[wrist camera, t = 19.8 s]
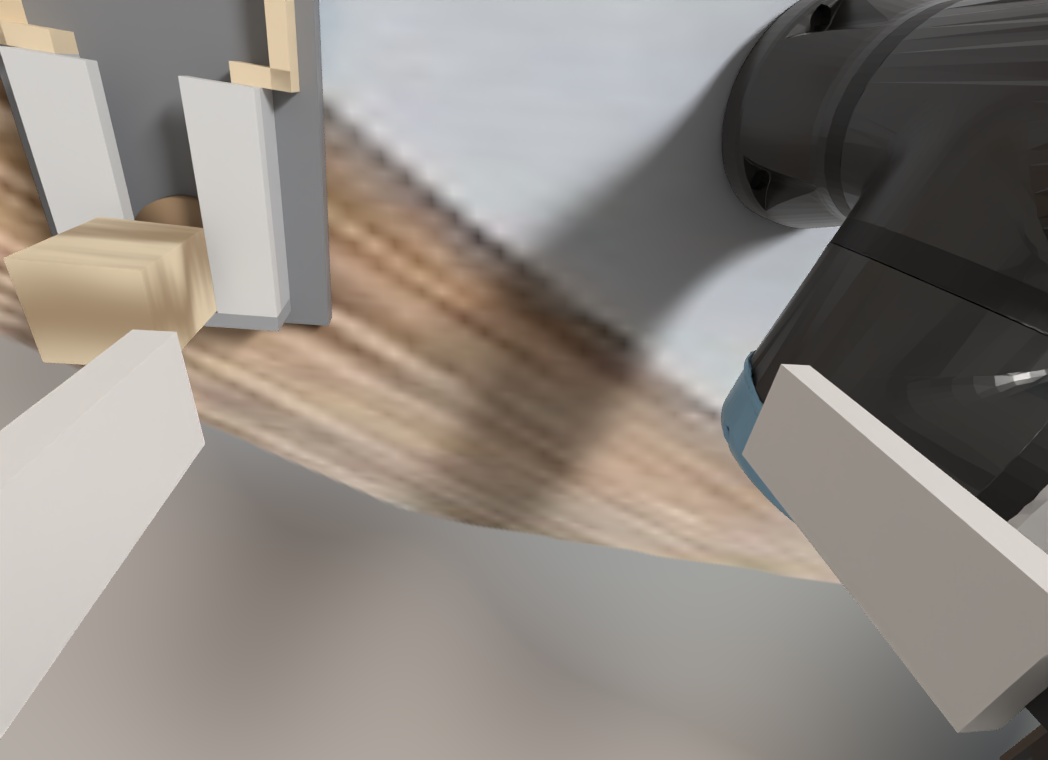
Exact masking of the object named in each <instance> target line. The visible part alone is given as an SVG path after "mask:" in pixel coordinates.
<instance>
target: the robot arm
mask: <svg viewBox="0 0 1048 760" xmlns="http://www.w3.org/2000/svg"><path fill="white" fill-rule="evenodd" d="M722 152H723V161H724V166H725V170H726V174H727V177H728V180H729V182H730V184H731V186H732V188H733V190H734V192H735V193H736V195H737V196H738V198H739V199H740V200H741V201H742V202H743V203H744V204H745V205H746V206H747V207H748V208H749V209H750V210H752V211H753V212H755V213H756V214H758V215H760V216H762V217H764V218H767V219H769V220H771V221H774V222H776V223H779V224H781V225H785V226H789V227H795V228H821V227H835V226H841V227H840V228H839V230H838V231H837V233H836V234H835V236H834V237H833V239H832V240H831V241H830V242H829V244H828V245H827V247H826V248H825V250H824V251H823V253H822V254H821V256H820V257H819V259H818V260H817V262H816V263H815V265H814V266H813V268H812V269H811V271H810V272H809V274H808V275H807V277H806V278H805V280H804V281H803V283H802V284H801V286H800V287H799V289H798V290H797V292H796V293H795V294H794V296H793V297H792V299H791V300H790V302H789V303H788V305H787V306H786V308H785V309H784V310H783V312H782V313H781V315H780V316H779V318H778V319H777V321H776V322H775V324H774V325H773V326H772V328H771V329H770V331H769V332H768V334H767V335H766V337H765V338H764V340H763V341H762V343H761V344H760V345H759V347H758V348H757V350H755V351H752V352H751V353H750V354H749V355H748V356H747V358H746V360H745V363H744V370H743V371H742V373H741V375H740V376H739V378H738V380H737V381H736V383H735V385H734V386H733V388H732V389H731V391H730V393H729V394H728V396H727V398H726V399H725V402H724V404H723V407H722V412H721V425H722V429H723V433H724V437H725V439H726V440H727V442H728V444H729V448H730V451H731V453H732V455H733V456H734V458H735V460H736V461H737V463H738V464H739V466H740V467H741V469H742V470H743V471H744V473H745V474H746V475H747V476H748V478H749V479H750V480H751V481H752V483H753V484H754V485H755V486H756V487H757V488H758V489H759V490H760V492H761V493H762V494H763V495H764V496H765V497H766V498H767V499H768V500H769V501H770V502H771V503H772V504H773V505H774V506H776V507H777V508H778V509H779V510H780V511H781V512H782V513H783V514H785V515H786V516H787V517H788V518H789V519H790V520H792V521H793V522H794V523H795V524H796V525H797V526H798V527H799V529H800V530H801V531H802V533H803V534H804V535H805V536H806V538H807V539H808V540H809V542H810V543H811V544H812V546H813V547H814V548H815V549H816V551H817V552H818V553H819V555H820V556H821V557H822V558H823V560H824V561H825V562H826V564H827V565H828V566H829V567H830V569H831V570H832V571H833V573H834V574H835V575H836V576H837V578H838V579H839V580H840V582H841V583H842V584H843V586H844V587H845V588H846V589H847V591H848V592H849V593H850V595H851V596H852V597H853V598H854V600H855V601H856V602H857V604H858V605H859V606H860V607H861V609H862V610H863V611H864V613H865V614H866V615H867V617H868V618H869V619H870V620H871V622H872V623H873V624H874V625H875V627H876V628H877V629H878V631H879V632H880V633H881V635H882V636H883V637H884V638H885V640H886V641H887V642H888V644H889V645H890V646H891V648H892V649H893V650H894V651H895V653H896V654H897V655H898V657H899V658H900V659H901V660H902V662H903V663H904V664H905V666H906V667H907V668H908V669H909V671H910V672H911V673H912V675H913V676H914V677H915V678H916V680H917V681H918V682H919V684H920V685H921V686H922V687H923V689H924V690H925V691H926V693H927V694H928V695H929V697H930V698H931V699H932V700H933V702H934V703H935V704H936V706H937V707H938V708H939V709H940V711H941V712H942V713H943V715H944V716H945V717H946V718H947V720H948V721H949V722H950V724H951V725H952V726H953V728H954V729H955V730H956V731H957V733H964V732H975V731H986V730H997V729H1000V728H1001V727H1002V726H1004V725H1005V724H1006V723H1007V722H1009V721H1010V720H1011V719H1012V718H1013V717H1015V716H1016V715H1017V714H1018V713H1019V712H1021V711H1022V710H1023V709H1024V708H1025V707H1026V708H1027V709H1028V710H1029V711H1030V713H1031V714H1033V716H1034V717H1035V718H1036V719H1037V720H1038V721H1039V722H1040V723H1041V725H1040V726H1039V727H1037V728H1036V729H1035V730H1034V731H1032V732H1031V733H1030V734H1029V735H1027V736H1026V737H1025V738H1024V739H1022V740H1021V741H1020V742H1018V743H1017V744H1016V745H1015V746H1013V747H1012V748H1011V749H1010V750H1008V751H1007V752H1006V753H1004V754H1003V755H1002V756H1001V757H1000V760H1048V0H800V1H799V2H798V3H796V4H795V5H793V6H792V7H791V8H790V9H788V10H787V11H786V12H785V13H784V14H783V15H781V16H780V17H779V18H778V19H777V20H776V21H775V22H774V23H773V24H772V25H771V26H770V28H769V29H768V30H767V31H766V32H765V33H764V34H763V36H762V37H761V38H760V40H759V41H758V42H757V44H756V45H755V47H754V48H753V49H752V51H751V52H750V54H749V56H748V57H747V59H746V61H745V63H744V64H743V66H742V68H741V70H740V72H739V74H738V76H737V79H736V81H735V83H734V86H733V88H732V91H731V94H730V97H729V100H728V104H727V108H726V112H725V117H724V123H723V132H722ZM204 445H205V441H204V437H203V433H202V430H201V426H200V421H199V418H198V414H197V410H196V406H195V402H194V398H193V394H192V390H191V386H190V382H189V379H188V375H187V371H186V367H185V363H184V359H183V355H182V351H181V347H180V343H179V340H178V336H177V332H172V331H153V330H134V329H133V330H131V331H130V332H129V333H127V334H126V335H125V336H124V337H122V338H121V339H120V340H118V341H117V342H116V343H114V344H113V345H112V346H110V347H109V348H108V349H106V350H105V351H104V352H103V353H101V354H100V355H99V356H97V357H96V358H95V359H93V360H92V361H91V362H89V363H88V364H87V365H85V366H84V367H83V368H82V369H80V370H79V371H78V372H76V373H75V374H74V375H72V376H71V377H70V378H68V379H67V380H66V381H65V382H64V383H62V384H61V385H59V386H58V387H57V388H55V389H54V390H53V391H51V392H50V393H49V394H47V395H46V396H45V397H44V398H42V399H41V400H40V401H38V402H37V403H36V404H34V405H33V406H32V407H30V408H29V409H28V410H27V411H25V412H24V413H23V414H21V415H20V416H19V417H17V418H16V419H15V420H13V421H12V422H11V423H10V424H8V425H7V426H5V427H4V428H3V429H2V430H0V739H1V737H2V736H3V735H4V733H5V731H6V730H7V729H8V727H9V726H10V724H11V723H12V722H13V720H14V719H15V717H16V716H17V714H18V713H19V711H20V710H21V709H22V707H23V706H24V704H25V703H26V701H27V700H28V699H29V697H30V696H31V694H32V693H33V691H34V690H35V688H36V687H37V685H38V684H39V683H40V681H41V680H42V678H43V677H44V675H45V674H46V673H47V671H48V670H49V668H50V667H51V665H52V664H53V662H54V661H55V659H56V658H57V656H58V655H59V654H60V652H61V651H62V649H63V648H64V647H65V645H66V644H67V642H68V641H69V639H70V638H71V637H72V635H73V633H74V632H75V631H76V629H77V628H78V626H79V625H80V624H81V622H82V621H83V619H84V618H85V616H86V615H87V613H88V612H89V611H90V609H91V608H92V606H93V605H94V603H95V602H96V600H97V599H98V598H99V596H100V594H101V593H102V592H103V590H104V589H105V587H106V586H107V584H108V583H109V582H110V580H111V579H112V577H113V576H114V574H115V573H116V572H117V570H118V569H119V567H120V566H121V564H122V563H123V562H124V560H125V559H126V557H127V556H128V554H129V553H130V551H131V550H132V548H133V547H134V546H135V544H136V543H137V541H138V540H139V538H140V537H141V536H142V534H143V532H144V531H145V530H146V528H147V527H148V525H149V524H150V523H151V521H152V520H153V518H154V517H155V515H156V514H157V513H158V511H159V510H160V508H161V507H162V505H163V504H164V502H165V501H166V500H167V498H168V497H169V495H170V494H171V492H172V491H173V489H174V488H175V487H176V485H177V484H178V482H179V481H180V479H181V478H182V476H183V475H184V474H185V472H186V471H187V469H188V468H189V466H190V464H191V463H192V462H193V461H194V459H195V458H196V456H197V455H198V453H199V452H200V451H201V449H202V448H203V446H204Z"/></svg>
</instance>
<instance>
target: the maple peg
mask: <svg viewBox="0 0 1048 760" xmlns="http://www.w3.org/2000/svg"><path fill="white" fill-rule="evenodd" d="M3 259H4V262H5V264H6V267H7V269H8V272H9V275H10V277H11V280H12V282H13V285H14V288H15V290H16V293H17V296H18V298H19V301H20V303H21V306H22V309H23V311H24V314H25V316H26V319H27V322H28V324H29V327H30V330H31V332H32V335H33V337H34V340H35V343H36V345H37V348H38V350H39V353H40V356H41V358H42V361H43V362H45V363H46V362H47V363H64V364H82V365H87V364H88V363H89V362H91V361H92V360H93V359H95V358H96V357H97V356H99V355H100V354H101V353H103V352H104V351H105V350H106V349H108V348H109V347H110V346H112V345H113V344H114V343H116V342H117V341H118V340H120V339H121V338H122V337H124V336H125V335H126V334H127V333H129V332H130V331H131V330H133V329H134V330H153V331H172V332H177V336H178V340H179V343H180V347H181V350H182V349H183V348H184V347H185V346H186V344H187V343H188V342H189V341H190V340H191V339H192V338H193V337H194V336H195V335H196V333H197V332H198V331H199V330H200V329H201V328H202V327H203V326H204V325H205V324H206V322H207V321H208V320H209V319H210V318H211V317H212V316H213V315H214V314H215V313H216V311H217V307H216V301H215V295H214V288H213V282H212V276H211V270H210V264H209V258H208V252H207V246H206V240H205V234H204V228H203V222H202V216H201V210H200V204H199V199H198V197H195V196H190V195H181V194H179V195H170V196H166V197H163V198H160V199H158V200H156V201H154V202H152V203H150V204H148V205H146V206H145V207H144V208H143V209H141V211H140V212H139V213H138V214H137V216H136V218H135V220H126V219H117V218H107V217H97V218H95V219H92V220H90V221H88V222H85V223H83V224H81V225H79V226H76V227H74V228H72V229H69V230H67V231H65V232H62V233H60V234H58V235H55V236H53V237H51V238H48V239H46V240H44V241H41V242H39V243H37V244H35V245H32V246H30V247H28V248H25V249H23V250H21V251H18V252H16V253H14V254H11V255H9V256H7V257H4V258H3Z"/></svg>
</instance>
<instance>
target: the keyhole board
mask: <svg viewBox="0 0 1048 760" xmlns="http://www.w3.org/2000/svg"><path fill="white" fill-rule="evenodd" d="M0 76H1V79H2V82H3V85H4V88H5V91H6V95H7V98H8V101H9V104H10V107H11V110H12V113H13V116H14V119H15V122H16V126H17V129H18V132H19V135H20V138H21V141H22V144H23V147H24V150H25V153H26V156H27V160H28V163H29V166H30V169H31V172H32V175H33V178H34V181H35V184H36V187H37V191H38V194H39V197H40V200H41V203H42V206H43V209H44V212H45V215H46V218H47V221H48V225H49V228H50V231H51V234H52V237H53V236H55V235H58V234H60V233H62V232H65V231H67V230H69V229H72V228H74V227H76V226H79V225H81V224H83V223H85V222H88V221H90V220H92V219H95V218H97V217H107V218H117V219H126V220H135V218H136V216H137V214H138V213H139V212H140V211H141V209H143V208H144V207H145V206H146V205H148V204H150V203H152V202H154V201H156V200H158V199H160V198H163V197H166V196H170V195H179V194H181V195H190V196H195V197H198V199H199V204H200V210H201V216H202V222H203V228H204V234H205V240H206V246H207V252H208V258H209V264H210V270H211V276H212V282H213V288H214V295H215V301H216V307H217V311H216V313H215V314H214V315H213V316H212V317H211V318H210V319H209V320H208V321H207V322H206V324H205V325H204V326H209V327H223V328H238V329H252V330H267V331H279V330H280V328H281V327H282V325H283V323H296V324H310V325H324V326H329V323H330V321H331V318H332V307H331V283H330V259H329V234H328V210H327V186H326V162H325V138H324V113H323V89H322V65H321V41H320V17H319V0H0Z"/></svg>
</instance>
